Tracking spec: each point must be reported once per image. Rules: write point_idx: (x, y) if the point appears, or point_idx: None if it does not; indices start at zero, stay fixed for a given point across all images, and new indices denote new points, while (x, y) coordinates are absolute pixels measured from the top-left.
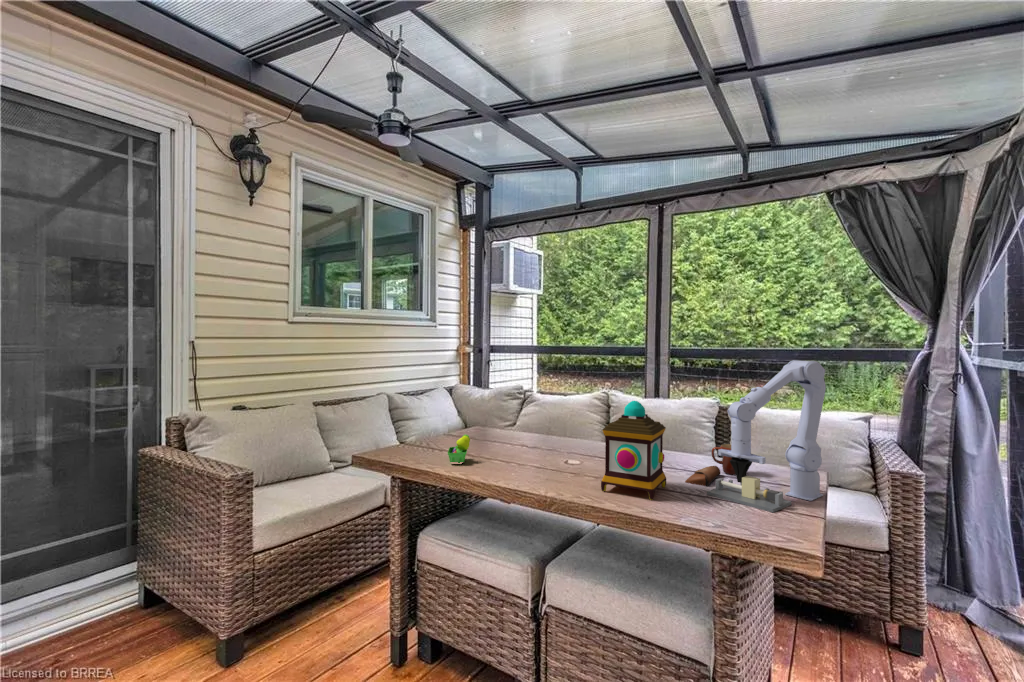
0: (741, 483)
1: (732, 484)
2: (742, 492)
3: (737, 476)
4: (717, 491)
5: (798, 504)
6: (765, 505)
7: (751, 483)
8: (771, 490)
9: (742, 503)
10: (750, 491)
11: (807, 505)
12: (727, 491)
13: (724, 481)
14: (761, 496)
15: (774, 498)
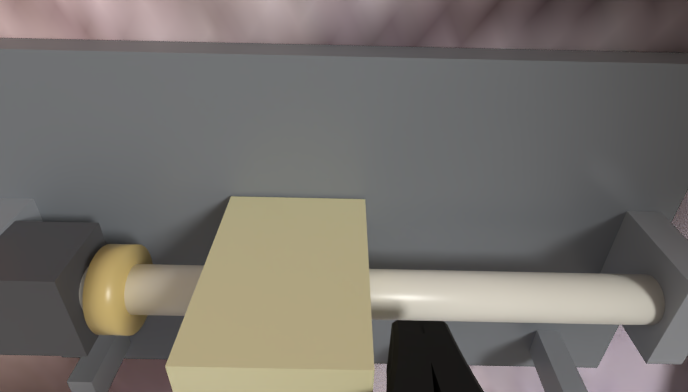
0: None
1: (504, 293)
2: (357, 222)
3: (455, 379)
4: (625, 158)
5: (62, 366)
6: (50, 108)
7: (228, 319)
8: (67, 339)
9: (281, 47)
10: (260, 242)
11: (25, 383)
12: (533, 232)
13: (613, 313)
14: None
15: (2, 238)
